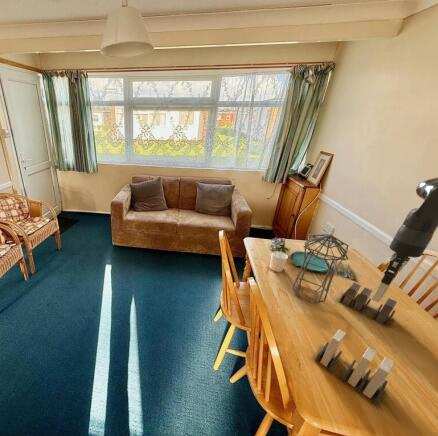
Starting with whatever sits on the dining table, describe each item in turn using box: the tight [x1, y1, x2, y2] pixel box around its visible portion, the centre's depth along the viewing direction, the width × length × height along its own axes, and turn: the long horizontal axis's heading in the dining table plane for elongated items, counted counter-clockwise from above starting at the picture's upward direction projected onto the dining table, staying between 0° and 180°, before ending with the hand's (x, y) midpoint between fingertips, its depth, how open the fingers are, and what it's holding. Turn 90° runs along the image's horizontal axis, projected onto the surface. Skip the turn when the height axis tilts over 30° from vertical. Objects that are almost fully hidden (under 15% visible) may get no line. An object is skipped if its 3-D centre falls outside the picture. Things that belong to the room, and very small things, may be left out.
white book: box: [371, 270, 395, 303], centre depth 83 cm, size 2×6×13 cm, turn 124°
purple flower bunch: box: [270, 237, 291, 254], centre depth 147 cm, size 11×11×12 cm
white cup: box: [269, 250, 289, 273], centre depth 129 cm, size 8×8×10 cm
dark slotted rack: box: [314, 328, 395, 405], centre depth 76 cm, size 17×8×14 cm, turn 35°
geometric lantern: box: [291, 233, 349, 304], centre depth 105 cm, size 16×16×35 cm
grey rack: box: [338, 282, 398, 327], centre depth 102 cm, size 17×8×10 cm, turn 35°
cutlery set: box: [290, 250, 354, 281], centre depth 134 cm, size 20×30×2 cm, turn 58°
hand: (387, 279), depth 82 cm, fingers closed on white book, 6 cm apart
